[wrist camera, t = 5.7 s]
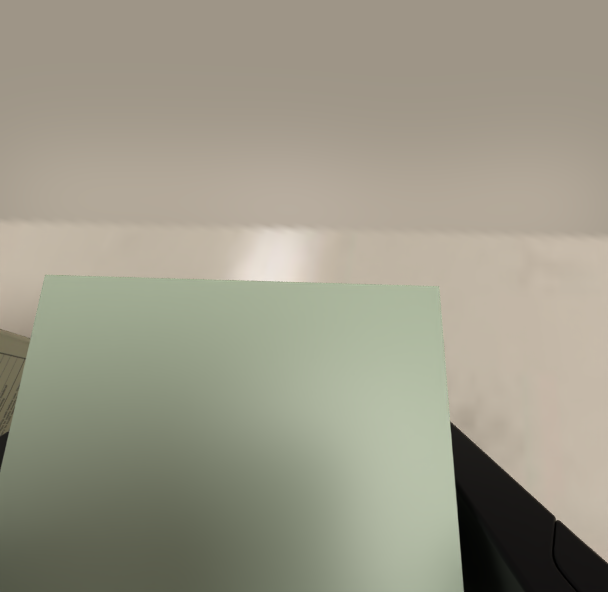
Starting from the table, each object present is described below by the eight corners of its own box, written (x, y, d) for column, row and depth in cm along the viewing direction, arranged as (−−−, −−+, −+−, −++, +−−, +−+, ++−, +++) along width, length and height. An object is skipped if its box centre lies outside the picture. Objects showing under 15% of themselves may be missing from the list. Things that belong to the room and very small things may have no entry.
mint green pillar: (359, 565, 14) (480, 802, 5) (167, 561, 14) (-74, 796, 5) (356, 373, 16) (438, 285, 7) (188, 369, 16) (44, 274, 7)
